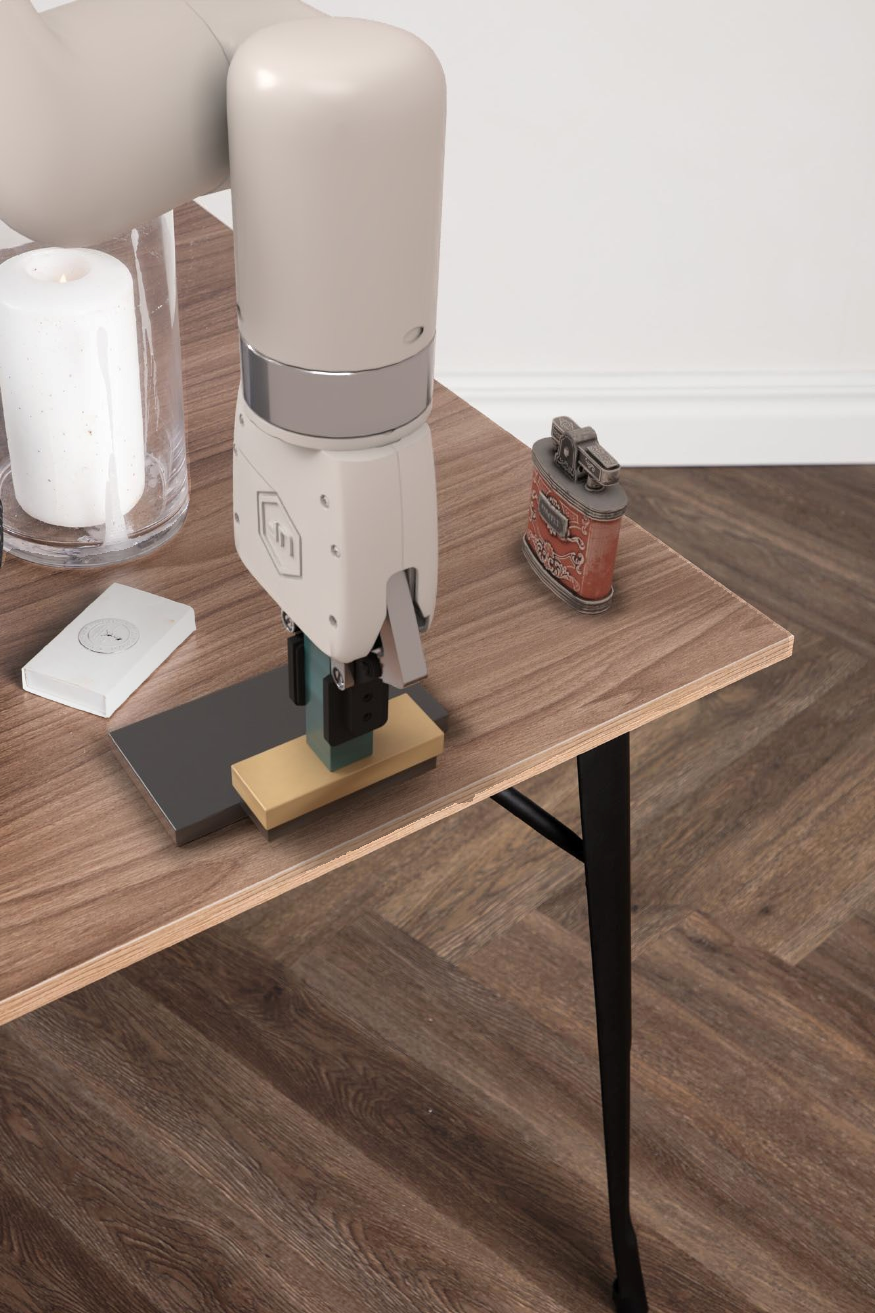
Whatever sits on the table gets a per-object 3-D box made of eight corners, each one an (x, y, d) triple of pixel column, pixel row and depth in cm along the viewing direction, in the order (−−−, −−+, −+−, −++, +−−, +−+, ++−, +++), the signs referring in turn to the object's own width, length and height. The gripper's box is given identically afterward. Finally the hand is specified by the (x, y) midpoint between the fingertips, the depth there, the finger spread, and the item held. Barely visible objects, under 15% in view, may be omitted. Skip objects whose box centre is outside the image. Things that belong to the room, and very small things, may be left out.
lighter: (509, 545, 89) (522, 406, 82) (556, 532, 90) (572, 395, 84) (576, 619, 84) (596, 477, 77) (624, 605, 85) (648, 464, 78)
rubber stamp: (267, 848, 67) (259, 682, 60) (233, 802, 69) (221, 636, 62) (442, 770, 72) (453, 606, 65) (405, 729, 74) (411, 566, 67)
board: (177, 847, 69) (175, 831, 68) (109, 748, 74) (107, 732, 73) (449, 730, 76) (450, 713, 75) (370, 646, 81) (371, 630, 80)
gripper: (158, 304, 58) (189, 644, 70) (363, 497, 48) (359, 855, 60) (317, 265, 62) (321, 596, 74) (539, 438, 52) (501, 788, 64)
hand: (338, 710), depth 67 cm, fingers closed on rubber stamp, 2 cm apart
